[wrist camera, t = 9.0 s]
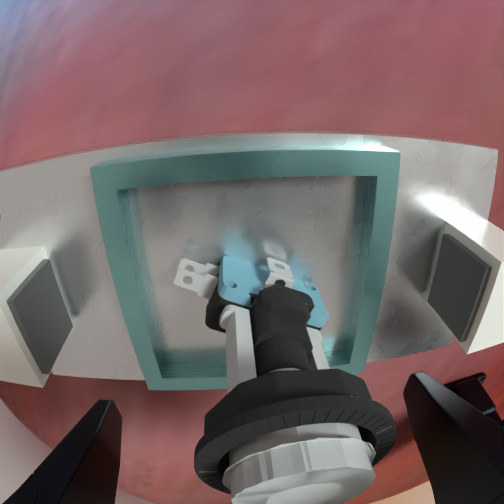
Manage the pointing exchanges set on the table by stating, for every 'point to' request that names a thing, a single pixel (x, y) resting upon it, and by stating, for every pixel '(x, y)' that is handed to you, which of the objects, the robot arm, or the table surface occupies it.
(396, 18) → the table surface
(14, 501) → the robot arm
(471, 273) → the white padded clamp jaws
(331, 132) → the teal-edged white tray
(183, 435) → the table surface
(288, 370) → the push button
